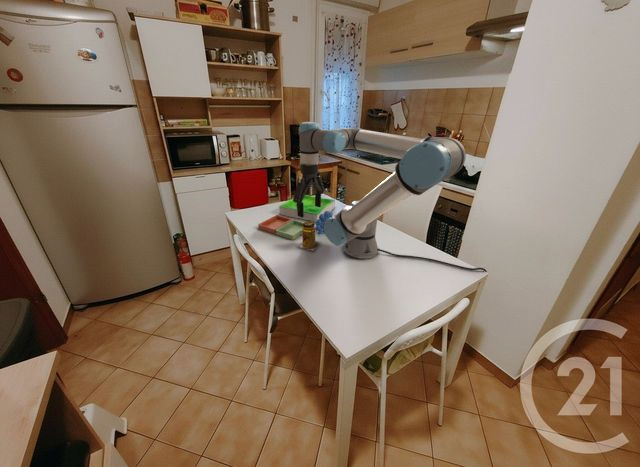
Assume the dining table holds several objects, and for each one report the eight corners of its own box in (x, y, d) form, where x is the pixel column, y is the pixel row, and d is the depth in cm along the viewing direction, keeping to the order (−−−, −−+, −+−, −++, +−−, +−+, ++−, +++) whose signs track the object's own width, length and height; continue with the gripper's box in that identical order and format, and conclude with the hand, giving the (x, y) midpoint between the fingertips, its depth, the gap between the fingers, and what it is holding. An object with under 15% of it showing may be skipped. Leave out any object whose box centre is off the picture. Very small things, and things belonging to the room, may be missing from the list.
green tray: (310, 228, 140) (310, 224, 139) (293, 240, 129) (292, 235, 128) (293, 223, 146) (293, 219, 144) (275, 234, 134) (275, 229, 133)
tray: (300, 201, 177) (300, 193, 174) (334, 207, 167) (334, 200, 165) (279, 214, 157) (279, 206, 155) (317, 222, 147) (317, 214, 145)
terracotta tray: (292, 223, 146) (292, 219, 145) (274, 233, 135) (274, 229, 134) (277, 218, 151) (277, 214, 150) (258, 228, 140) (258, 224, 139)
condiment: (299, 247, 123) (298, 224, 117) (308, 239, 130) (307, 217, 124) (312, 251, 120) (312, 227, 114) (321, 243, 127) (321, 220, 121)
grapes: (327, 226, 142) (328, 206, 137) (335, 231, 138) (336, 210, 132) (310, 232, 136) (310, 211, 130) (318, 237, 131) (318, 215, 126)
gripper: (318, 156, 118) (317, 201, 128) (282, 168, 99) (285, 219, 109) (332, 159, 114) (331, 204, 124) (298, 171, 96) (299, 223, 106)
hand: (309, 211), depth 117 cm, fingers open, 13 cm apart
